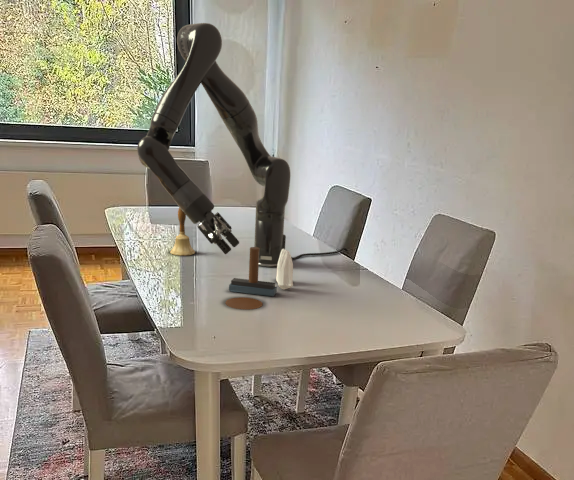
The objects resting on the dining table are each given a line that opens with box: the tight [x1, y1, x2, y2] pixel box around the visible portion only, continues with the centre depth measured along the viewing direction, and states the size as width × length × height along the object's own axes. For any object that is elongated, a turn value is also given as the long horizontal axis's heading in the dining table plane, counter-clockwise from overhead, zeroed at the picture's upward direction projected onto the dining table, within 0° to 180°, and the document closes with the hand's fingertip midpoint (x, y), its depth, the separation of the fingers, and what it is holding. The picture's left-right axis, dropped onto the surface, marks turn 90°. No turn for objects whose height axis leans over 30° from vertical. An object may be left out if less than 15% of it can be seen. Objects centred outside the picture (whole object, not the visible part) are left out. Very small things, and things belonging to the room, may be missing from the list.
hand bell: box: [169, 206, 196, 257], centre depth 210 cm, size 8×8×16 cm
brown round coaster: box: [224, 296, 264, 311], centre depth 170 cm, size 10×10×1 cm
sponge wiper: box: [228, 246, 278, 297], centre depth 176 cm, size 4×13×13 cm, turn 79°
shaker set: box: [275, 248, 294, 290], centre depth 184 cm, size 12×4×11 cm, turn 4°
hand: (233, 248), depth 174 cm, fingers open, 8 cm apart
